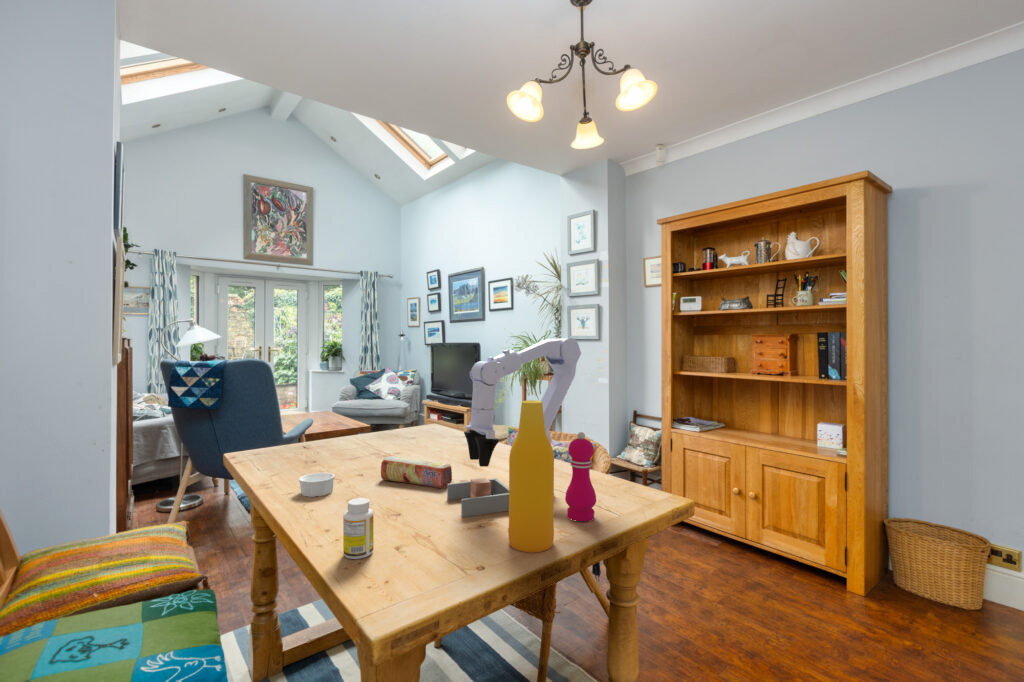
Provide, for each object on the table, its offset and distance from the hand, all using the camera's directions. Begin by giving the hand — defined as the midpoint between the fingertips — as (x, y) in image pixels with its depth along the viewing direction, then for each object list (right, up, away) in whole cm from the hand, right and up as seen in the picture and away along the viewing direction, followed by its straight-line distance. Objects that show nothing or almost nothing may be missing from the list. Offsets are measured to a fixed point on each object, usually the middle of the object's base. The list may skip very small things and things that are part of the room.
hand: (478, 462), depth 121 cm
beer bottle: (+12, -11, -23) cm, 28 cm away
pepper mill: (+25, -11, -8) cm, 28 cm away
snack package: (-19, -11, +19) cm, 29 cm away
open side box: (0, -11, 0) cm, 10 cm away
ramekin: (-44, -11, +9) cm, 46 cm away
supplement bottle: (-21, -11, -28) cm, 37 cm away
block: (0, -11, 0) cm, 11 cm away
